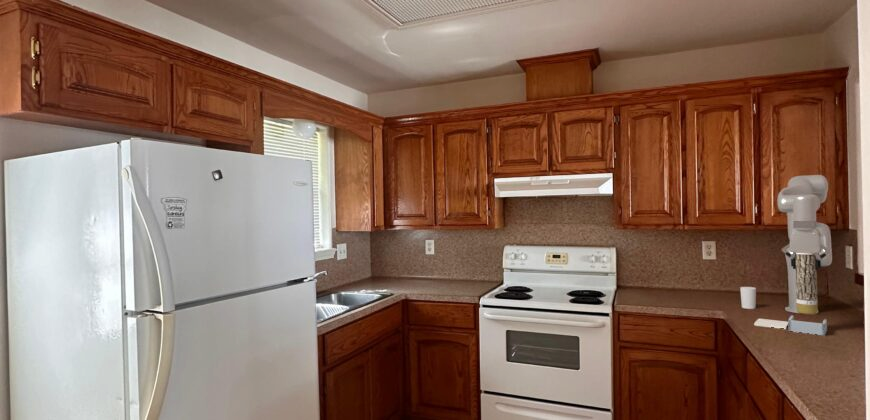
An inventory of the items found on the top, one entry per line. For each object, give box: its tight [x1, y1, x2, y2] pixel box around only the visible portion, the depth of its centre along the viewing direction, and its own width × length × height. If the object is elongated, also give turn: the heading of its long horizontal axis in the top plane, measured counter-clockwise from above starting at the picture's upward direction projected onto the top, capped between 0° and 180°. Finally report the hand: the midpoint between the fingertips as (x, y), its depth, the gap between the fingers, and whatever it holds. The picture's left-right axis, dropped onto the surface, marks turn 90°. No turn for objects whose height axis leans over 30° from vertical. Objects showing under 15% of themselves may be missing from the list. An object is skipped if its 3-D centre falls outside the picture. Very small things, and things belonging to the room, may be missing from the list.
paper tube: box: [795, 252, 819, 316], centre depth 196 cm, size 7×7×25 cm
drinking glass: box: [739, 286, 757, 310], centre depth 241 cm, size 7×7×10 cm
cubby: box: [787, 315, 828, 336], centre depth 195 cm, size 11×12×4 cm
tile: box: [753, 318, 788, 330], centre depth 206 cm, size 11×11×1 cm
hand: (805, 268), depth 196 cm, fingers closed on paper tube, 6 cm apart
